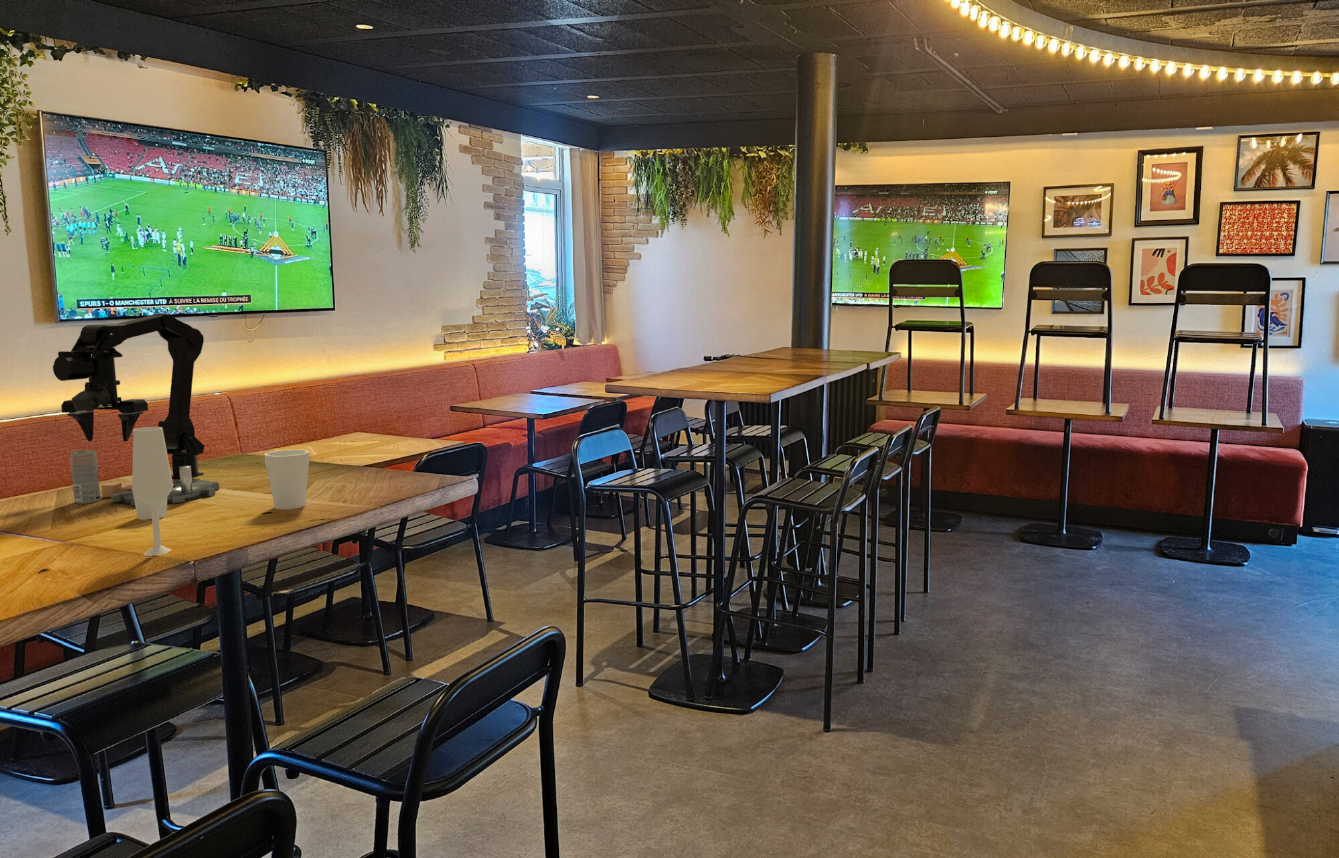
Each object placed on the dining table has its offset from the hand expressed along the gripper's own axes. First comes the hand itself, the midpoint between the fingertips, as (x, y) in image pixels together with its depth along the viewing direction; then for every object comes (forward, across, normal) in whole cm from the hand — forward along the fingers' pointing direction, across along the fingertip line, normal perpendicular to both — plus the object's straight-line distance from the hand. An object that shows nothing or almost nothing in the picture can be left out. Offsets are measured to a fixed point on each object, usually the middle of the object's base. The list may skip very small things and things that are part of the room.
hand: (108, 441), depth 235 cm
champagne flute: (+13, +46, -53) cm, 71 cm away
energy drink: (+13, 0, -9) cm, 16 cm away
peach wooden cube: (+13, +2, -3) cm, 13 cm away
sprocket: (+13, +16, -3) cm, 21 cm away
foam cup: (+13, +52, -14) cm, 56 cm away
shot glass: (+13, +26, -24) cm, 38 cm away
